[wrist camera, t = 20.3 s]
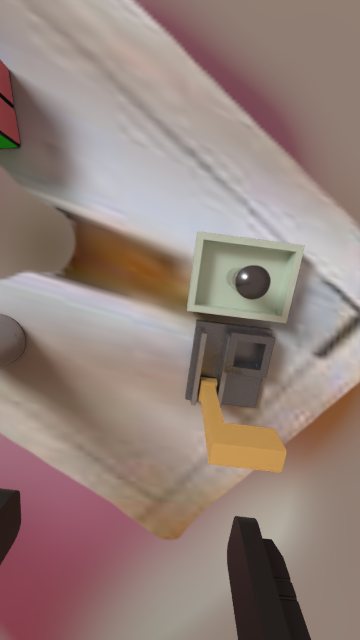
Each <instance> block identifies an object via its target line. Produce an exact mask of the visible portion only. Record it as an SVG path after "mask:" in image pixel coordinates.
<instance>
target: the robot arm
mask: <svg viewBox="0 0 360 640" xmlns="http://www.w3.org/2000/svg"><path fill="white" fill-rule="evenodd" d="M25 344H26V341H25V335H24V332H23V330H22V329H21V327H20V326H19V325H18V323H17V322H15V321H14V320H13V319H12V318H10V317H8V316H6V315H2V314H0V369H1V368H2V367H4V366H5V365H7V364H9V363H11V362H12V361H14V360H16V359H17V358H19V357H20V356H21V355H22V353H23V351H24V349H25ZM20 524H21V505H20V492H19V491H17V490H9V489H1V488H0V565H1V563H2V561H3V560H4V558H5V556H6V555H7V553H8V551H9V549H10V548H11V546H12V544H13V543H14V541H15V539H16V537H17V535H18V532H19V529H20ZM227 565H228V572H229V579H230V586H231V593H232V600H233V607H234V614H235V621H236V628H237V635H238V640H311V638H310V635H309V632H308V629H307V626H306V624H305V621H304V618H303V615H302V612H301V609H300V606H299V603H298V602H297V599H296V594H295V591H294V588H293V585H292V583H291V582H290V576H289V573H288V570H287V567H286V564H285V561H284V558H283V556H282V555H281V553H280V552H279V550H278V549H277V547H276V546H275V544H274V542H273V541H272V540H271V539H263V538H262V536H261V532H260V528H259V525H258V522H257V520H256V519H255V518H247V517H238V516H235V517H234V521H233V525H232V529H231V533H230V537H229V542H228V548H227Z"/></svg>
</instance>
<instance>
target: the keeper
mask: <svg viewBox="0 0 360 640" xmlns="http://www.w3.org/2000/svg"><path fill="white" fill-rule="evenodd" d="M216 389H217V379H214V378H206V377H201V379H200V385H199V392H198V401H199V402H201V405H202V413H203V421H204V429H205V437H206V444H207V452H208V460H209V464H212V465H221V466H229V467H238V468H246V469H255V470H264V471H272V472H282V468H283V465H284V461H285V458H286V454H287V451H286V449H285V447H284V445H283V443H282V441H281V440H280V438H279V436H278V434H277V432H276V430H275V429H272V428H264V427H256V426H247V425H239V424H231V423H224V420H223V416H222V412H221V408H220V404H219V400H218V396H217V392H216Z"/></svg>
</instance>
